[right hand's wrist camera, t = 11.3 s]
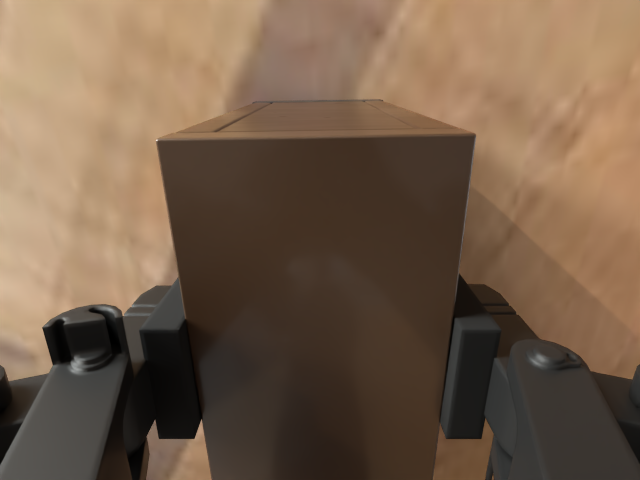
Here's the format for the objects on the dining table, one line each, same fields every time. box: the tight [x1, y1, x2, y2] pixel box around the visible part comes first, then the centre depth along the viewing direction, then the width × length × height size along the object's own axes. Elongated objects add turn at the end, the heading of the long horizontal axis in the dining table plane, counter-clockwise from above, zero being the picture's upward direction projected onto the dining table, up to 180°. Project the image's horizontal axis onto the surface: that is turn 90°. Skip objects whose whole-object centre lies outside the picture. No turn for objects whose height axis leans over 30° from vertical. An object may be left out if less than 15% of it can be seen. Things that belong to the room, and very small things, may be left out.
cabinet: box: [156, 99, 476, 480], centre depth 15 cm, size 17×5×11 cm, turn 1°
